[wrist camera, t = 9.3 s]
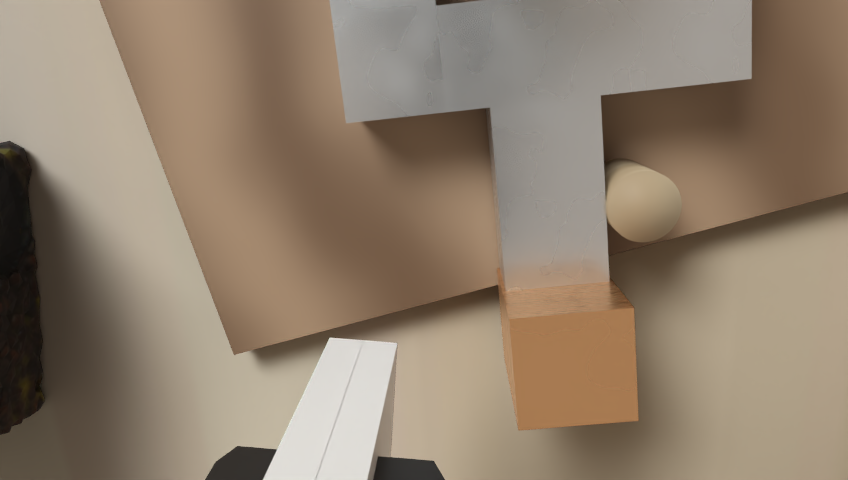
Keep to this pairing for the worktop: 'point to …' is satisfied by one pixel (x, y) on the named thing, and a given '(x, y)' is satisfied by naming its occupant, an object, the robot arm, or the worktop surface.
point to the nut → (543, 155)
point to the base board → (432, 157)
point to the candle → (17, 294)
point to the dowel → (640, 200)
